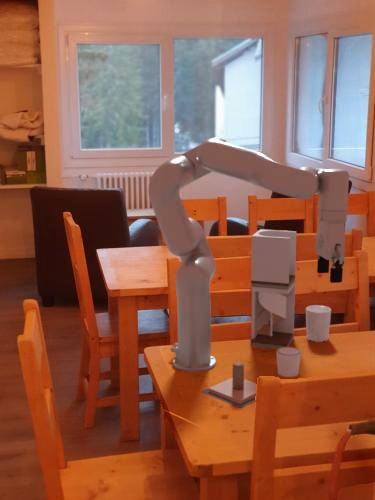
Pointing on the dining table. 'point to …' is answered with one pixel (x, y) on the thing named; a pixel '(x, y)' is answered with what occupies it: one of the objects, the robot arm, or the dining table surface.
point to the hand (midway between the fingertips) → (329, 277)
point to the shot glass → (288, 361)
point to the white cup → (318, 322)
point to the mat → (228, 400)
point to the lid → (236, 386)
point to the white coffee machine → (273, 288)
